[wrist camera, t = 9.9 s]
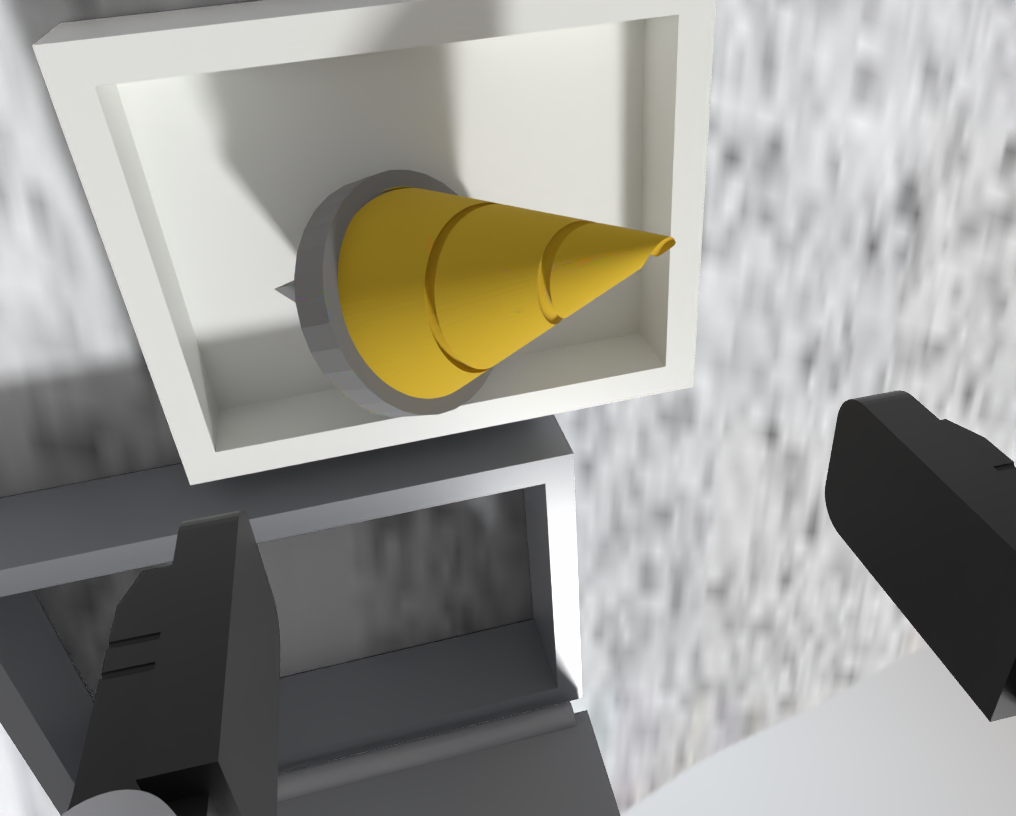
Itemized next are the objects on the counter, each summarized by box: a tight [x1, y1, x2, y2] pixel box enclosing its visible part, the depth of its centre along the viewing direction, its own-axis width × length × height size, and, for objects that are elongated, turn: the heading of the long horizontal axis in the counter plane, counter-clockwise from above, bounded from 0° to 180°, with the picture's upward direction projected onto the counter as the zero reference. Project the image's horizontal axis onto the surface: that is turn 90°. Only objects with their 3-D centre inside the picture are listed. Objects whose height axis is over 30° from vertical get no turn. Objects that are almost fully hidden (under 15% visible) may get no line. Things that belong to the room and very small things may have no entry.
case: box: [0, 414, 582, 815], centre depth 25 cm, size 16×10×3 cm, turn 93°
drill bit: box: [275, 170, 676, 417], centre depth 18 cm, size 5×5×10 cm
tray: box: [32, 0, 716, 485], centre depth 20 cm, size 13×10×2 cm
